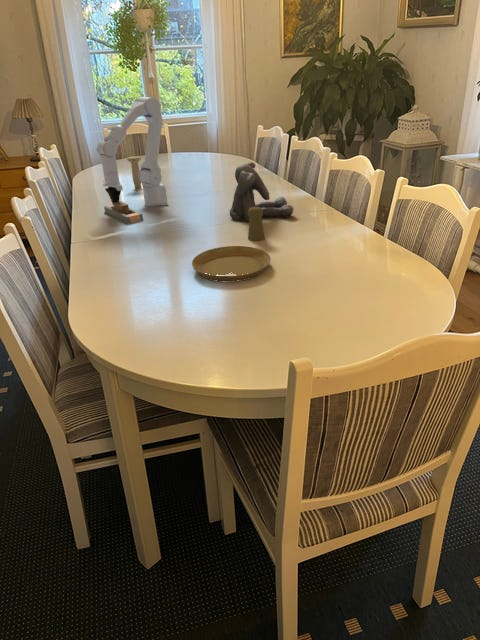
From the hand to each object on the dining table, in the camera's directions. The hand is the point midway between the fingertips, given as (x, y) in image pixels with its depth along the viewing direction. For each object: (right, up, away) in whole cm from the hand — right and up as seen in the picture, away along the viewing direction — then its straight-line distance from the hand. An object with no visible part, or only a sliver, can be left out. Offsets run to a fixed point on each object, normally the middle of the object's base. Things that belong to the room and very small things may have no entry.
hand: (116, 204), depth 216 cm
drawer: (+3, -5, -2) cm, 6 cm away
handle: (+1, +18, +43) cm, 47 cm away
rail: (+4, -6, -2) cm, 7 cm away
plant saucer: (+49, -33, -56) cm, 81 cm away
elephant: (+60, -6, -8) cm, 61 cm away
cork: (+58, -19, -32) cm, 69 cm away
